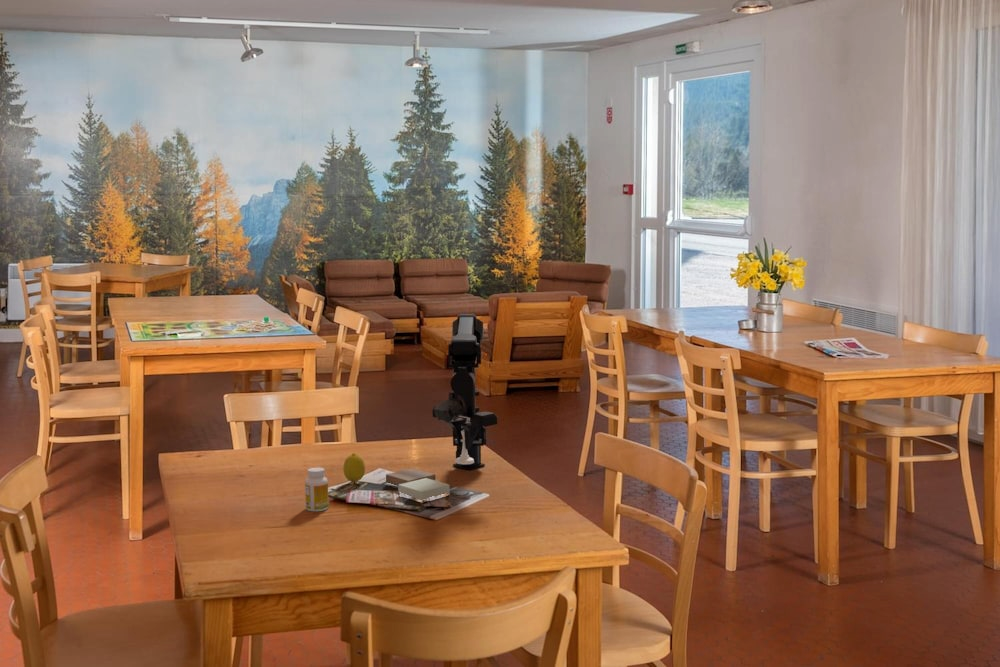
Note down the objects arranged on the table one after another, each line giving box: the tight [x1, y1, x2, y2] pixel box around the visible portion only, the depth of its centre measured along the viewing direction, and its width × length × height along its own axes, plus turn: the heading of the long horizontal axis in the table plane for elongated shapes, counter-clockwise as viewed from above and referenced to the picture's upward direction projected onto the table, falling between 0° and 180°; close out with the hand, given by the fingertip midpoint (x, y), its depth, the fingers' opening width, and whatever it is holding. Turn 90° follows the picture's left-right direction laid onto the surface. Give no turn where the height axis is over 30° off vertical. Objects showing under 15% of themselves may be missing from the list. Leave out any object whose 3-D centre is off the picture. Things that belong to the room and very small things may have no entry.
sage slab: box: [397, 478, 451, 500], centre depth 275 cm, size 9×9×3 cm
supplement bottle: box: [304, 467, 329, 513], centre depth 264 cm, size 5×5×10 cm
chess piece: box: [454, 423, 474, 464], centre depth 280 cm, size 5×5×10 cm
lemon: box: [342, 453, 366, 483], centre depth 287 cm, size 6×6×8 cm
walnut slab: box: [385, 467, 436, 486], centre depth 285 cm, size 9×9×3 cm
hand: (464, 448), depth 280 cm, fingers closed on chess piece
